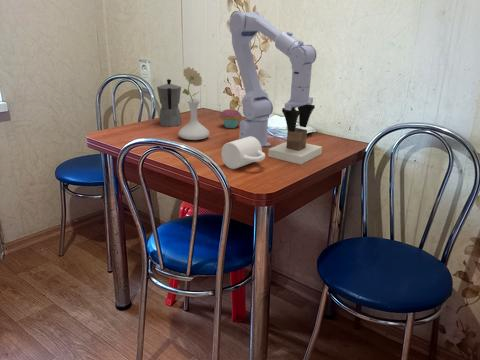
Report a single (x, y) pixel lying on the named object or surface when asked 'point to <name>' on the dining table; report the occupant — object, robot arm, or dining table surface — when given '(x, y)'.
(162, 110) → the coffeepot
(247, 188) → the dining table surface
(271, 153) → the cream plinth
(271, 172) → the dining table surface
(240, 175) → the dining table surface
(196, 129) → the flower in vase
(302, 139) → the walnut block
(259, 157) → the mug
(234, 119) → the cupcake
